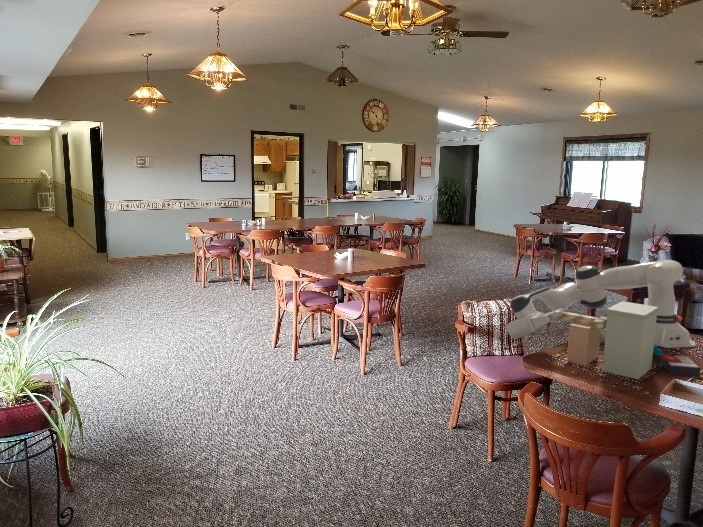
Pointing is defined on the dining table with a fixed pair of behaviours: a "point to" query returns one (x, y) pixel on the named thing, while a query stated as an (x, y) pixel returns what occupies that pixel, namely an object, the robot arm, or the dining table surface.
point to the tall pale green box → (629, 339)
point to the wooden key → (584, 319)
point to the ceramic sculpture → (602, 336)
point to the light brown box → (583, 343)
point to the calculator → (679, 365)
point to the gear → (657, 351)
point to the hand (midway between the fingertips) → (564, 311)
